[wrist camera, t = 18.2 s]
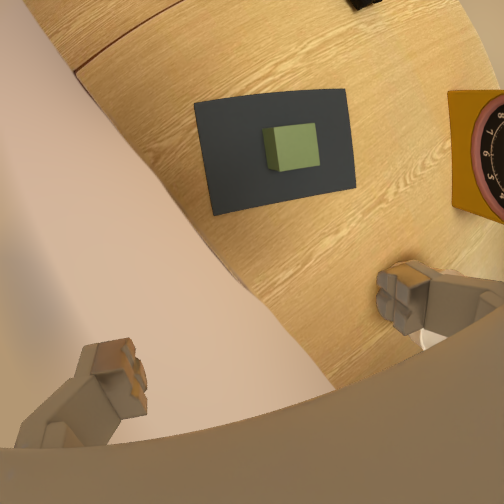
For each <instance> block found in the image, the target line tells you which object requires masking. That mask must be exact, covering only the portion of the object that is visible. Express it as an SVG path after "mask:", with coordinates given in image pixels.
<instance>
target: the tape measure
mask: <svg viewBox="0 0 504 504" xmlns="http://www.w3.org/2000/svg"><path fill="white" fill-rule="evenodd" d="M381 1H382V0H351V2H352V4H353V5H354V6H355V8H356V9H357V10H360V9H362V8H364V7H365V6H367V5H370V4H372V3H373V4H374V3H378V2H381Z"/></svg>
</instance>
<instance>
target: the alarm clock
mask: <svg viewBox="0 0 504 504" xmlns="http://www.w3.org/2000/svg"><path fill="white" fill-rule="evenodd" d="M447 95H448V104H449V115H450V127H451V144H452V206H453V207H455V208H458V209H461V210H464V211H467V212H470V213H473V214H476V215H479V216H482V217H484V218H487V219H490V220H493V221H495V222H498V223H501V224H503V225H504V90H457V91H448V93H447Z"/></svg>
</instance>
